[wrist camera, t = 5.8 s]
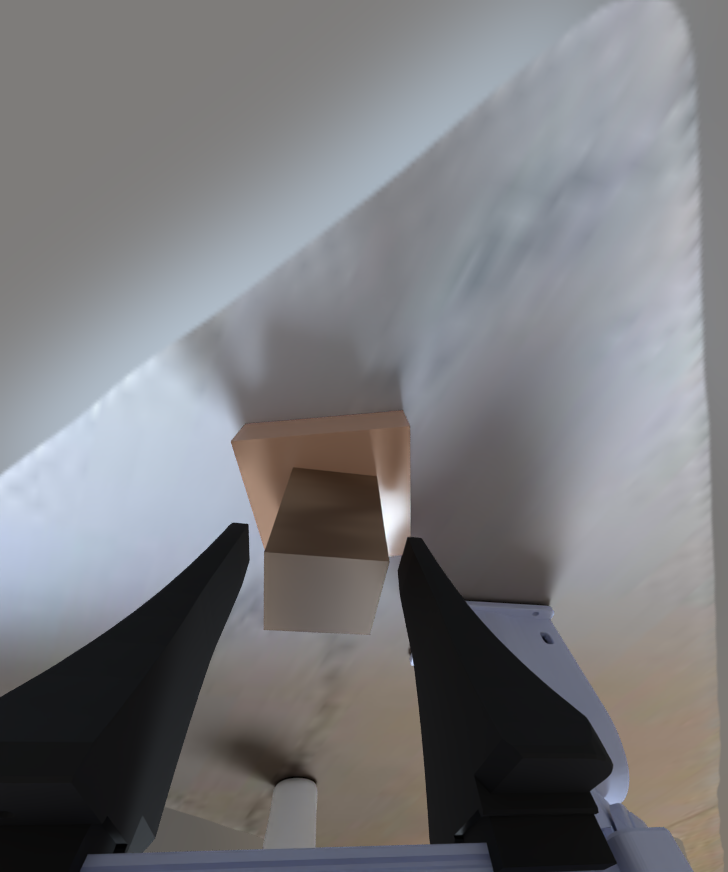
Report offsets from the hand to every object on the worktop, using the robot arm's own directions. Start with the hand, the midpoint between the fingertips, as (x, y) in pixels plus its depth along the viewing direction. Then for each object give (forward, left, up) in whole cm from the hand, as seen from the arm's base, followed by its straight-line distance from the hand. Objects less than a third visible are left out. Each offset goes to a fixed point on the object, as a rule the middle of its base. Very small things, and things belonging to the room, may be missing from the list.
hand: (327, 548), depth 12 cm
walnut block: (0, 0, -3) cm, 3 cm away
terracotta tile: (0, 0, -5) cm, 5 cm away
